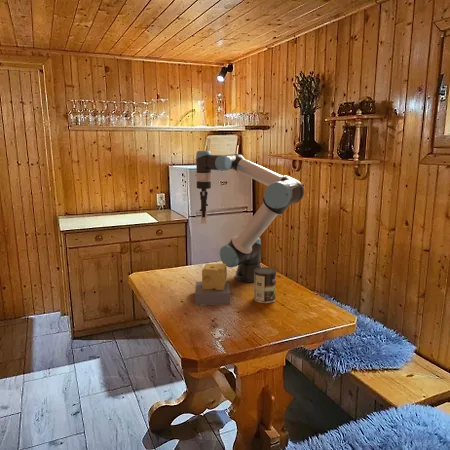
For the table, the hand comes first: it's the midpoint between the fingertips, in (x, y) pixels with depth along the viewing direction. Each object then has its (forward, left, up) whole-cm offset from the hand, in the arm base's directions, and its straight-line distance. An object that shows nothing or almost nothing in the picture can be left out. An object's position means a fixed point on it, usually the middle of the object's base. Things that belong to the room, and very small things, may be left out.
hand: (204, 220), depth 216 cm
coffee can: (-30, +31, -32) cm, 54 cm away
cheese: (-7, +30, -26) cm, 40 cm away
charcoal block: (-6, +30, -32) cm, 44 cm away
